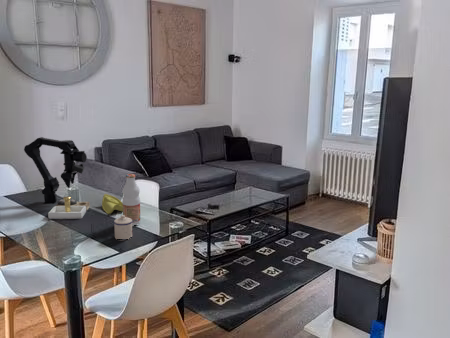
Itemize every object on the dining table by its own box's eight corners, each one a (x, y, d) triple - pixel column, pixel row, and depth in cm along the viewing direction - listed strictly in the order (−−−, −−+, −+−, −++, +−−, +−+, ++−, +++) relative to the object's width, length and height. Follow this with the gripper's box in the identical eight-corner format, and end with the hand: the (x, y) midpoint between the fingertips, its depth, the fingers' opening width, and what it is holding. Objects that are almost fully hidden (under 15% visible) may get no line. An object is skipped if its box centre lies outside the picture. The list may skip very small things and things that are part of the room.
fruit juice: (119, 224, 224) (118, 175, 218) (132, 219, 231) (131, 172, 225) (131, 228, 219) (129, 178, 212) (144, 223, 226) (143, 174, 220)
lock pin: (63, 215, 233) (62, 198, 231) (65, 212, 237) (64, 196, 235) (70, 214, 233) (69, 198, 231) (72, 212, 237) (71, 196, 235)
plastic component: (128, 208, 244) (114, 203, 237) (123, 219, 244) (108, 215, 238) (116, 197, 259) (102, 192, 253) (111, 207, 259) (97, 203, 253)
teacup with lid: (136, 237, 207) (135, 215, 204) (121, 242, 200) (120, 220, 197) (122, 231, 215) (122, 210, 212) (107, 235, 208) (106, 214, 205)
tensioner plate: (55, 210, 242) (55, 202, 241) (59, 206, 250) (59, 198, 248) (86, 210, 244) (86, 202, 243) (89, 206, 252) (89, 198, 250)
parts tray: (48, 218, 228) (48, 213, 227) (54, 211, 240) (54, 206, 239) (81, 218, 230) (81, 212, 230) (86, 211, 242) (85, 206, 241)
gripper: (79, 164, 241) (80, 189, 244) (86, 158, 259) (87, 181, 262) (59, 164, 239) (61, 189, 243) (68, 158, 257) (69, 181, 261)
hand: (70, 185), depth 252 cm, fingers open, 9 cm apart
